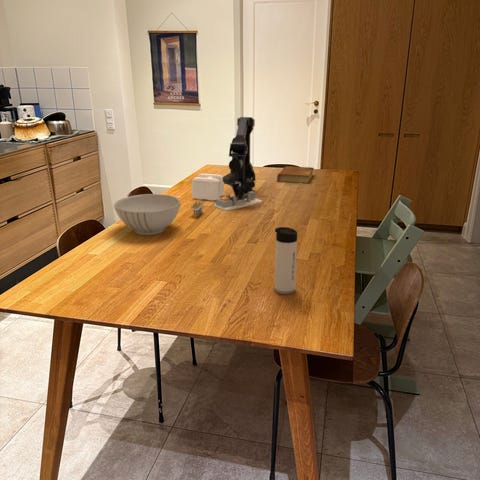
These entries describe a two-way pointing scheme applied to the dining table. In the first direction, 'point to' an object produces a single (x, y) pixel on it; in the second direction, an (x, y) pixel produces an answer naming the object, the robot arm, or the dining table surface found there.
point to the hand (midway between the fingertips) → (238, 198)
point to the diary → (295, 175)
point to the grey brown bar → (253, 194)
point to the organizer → (207, 187)
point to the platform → (197, 208)
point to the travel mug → (285, 260)
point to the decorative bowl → (148, 212)
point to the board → (236, 203)
